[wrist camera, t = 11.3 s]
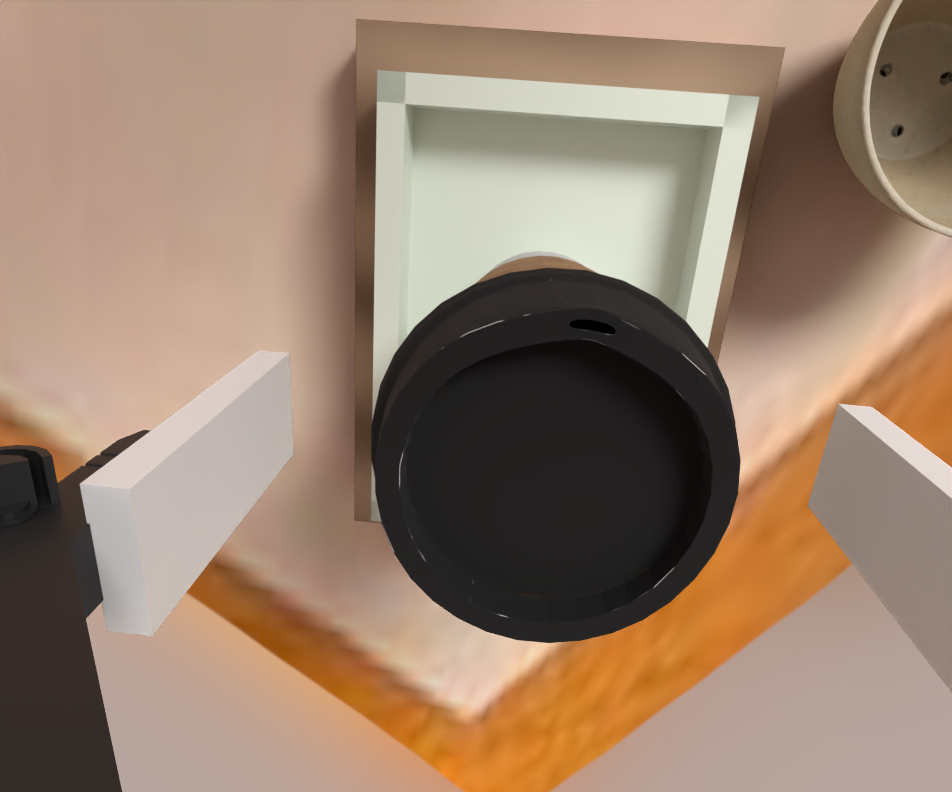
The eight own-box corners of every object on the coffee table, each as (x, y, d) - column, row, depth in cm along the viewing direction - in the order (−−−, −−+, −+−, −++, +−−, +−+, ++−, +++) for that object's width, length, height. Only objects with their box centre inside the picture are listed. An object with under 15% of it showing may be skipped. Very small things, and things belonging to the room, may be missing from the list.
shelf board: (371, 31, 26) (356, 19, 24) (761, 57, 26) (785, 47, 23) (366, 495, 34) (354, 520, 32) (665, 525, 33) (676, 553, 31)
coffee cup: (663, 237, 25) (840, 334, 11) (613, 430, 28) (702, 701, 14) (454, 201, 25) (363, 251, 11) (426, 397, 28) (327, 633, 14)
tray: (394, 80, 25) (377, 70, 22) (732, 104, 24) (759, 96, 21) (385, 488, 31) (370, 520, 28) (652, 514, 30) (665, 550, 28)
